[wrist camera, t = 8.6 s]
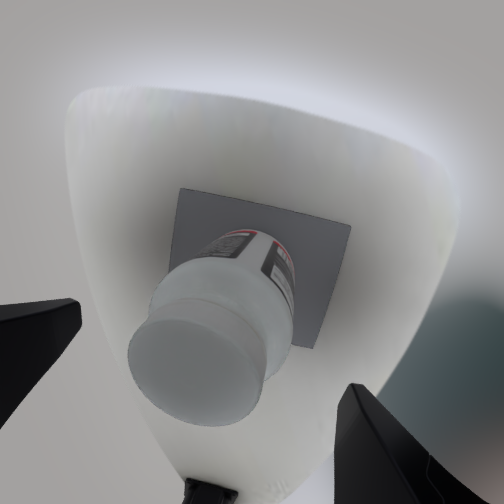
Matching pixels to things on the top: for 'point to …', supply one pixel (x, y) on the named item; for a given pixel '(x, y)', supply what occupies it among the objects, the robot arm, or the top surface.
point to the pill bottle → (217, 330)
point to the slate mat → (284, 231)
